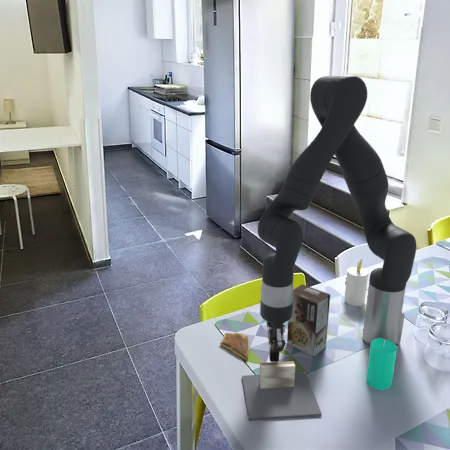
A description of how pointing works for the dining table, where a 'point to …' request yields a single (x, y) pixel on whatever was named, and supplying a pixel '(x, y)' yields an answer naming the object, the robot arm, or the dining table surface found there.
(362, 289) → the candle
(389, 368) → the candle
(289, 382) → the slab
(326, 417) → the dining table surface
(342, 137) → the robot arm
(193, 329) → the dining table surface
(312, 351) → the cookie box
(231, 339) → the shard
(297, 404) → the mat
